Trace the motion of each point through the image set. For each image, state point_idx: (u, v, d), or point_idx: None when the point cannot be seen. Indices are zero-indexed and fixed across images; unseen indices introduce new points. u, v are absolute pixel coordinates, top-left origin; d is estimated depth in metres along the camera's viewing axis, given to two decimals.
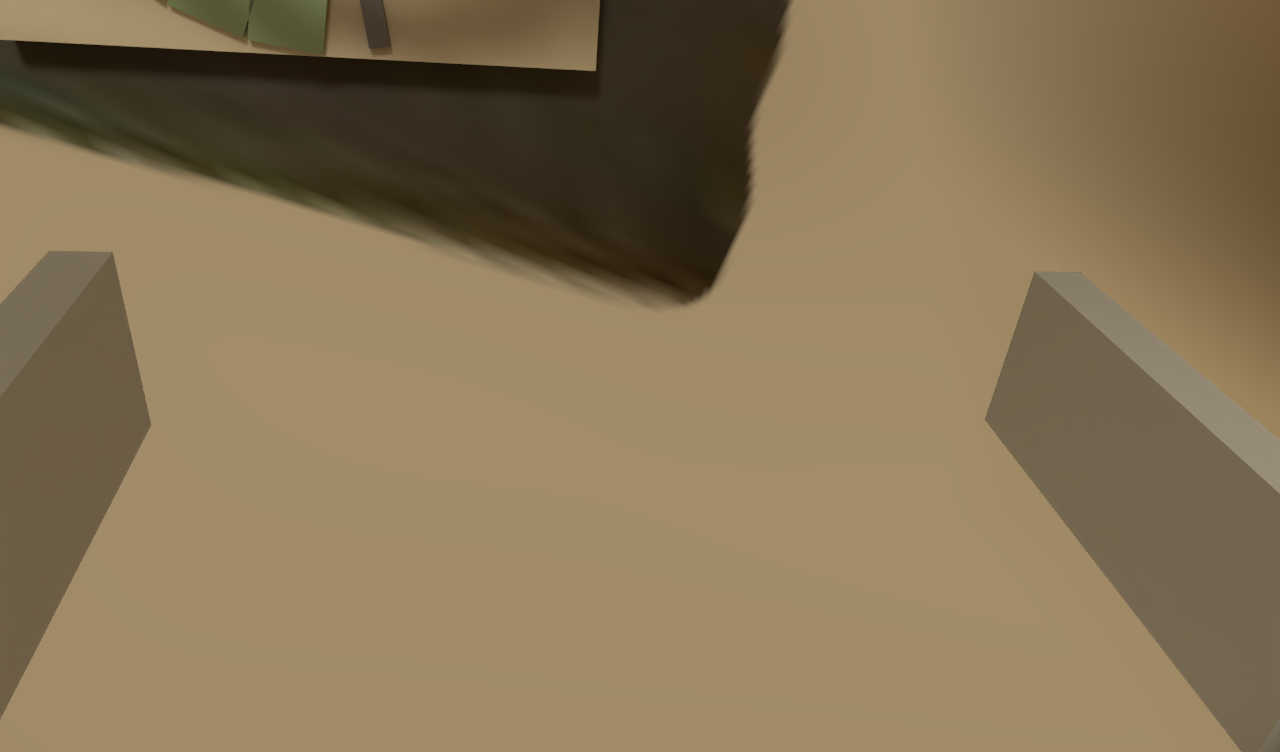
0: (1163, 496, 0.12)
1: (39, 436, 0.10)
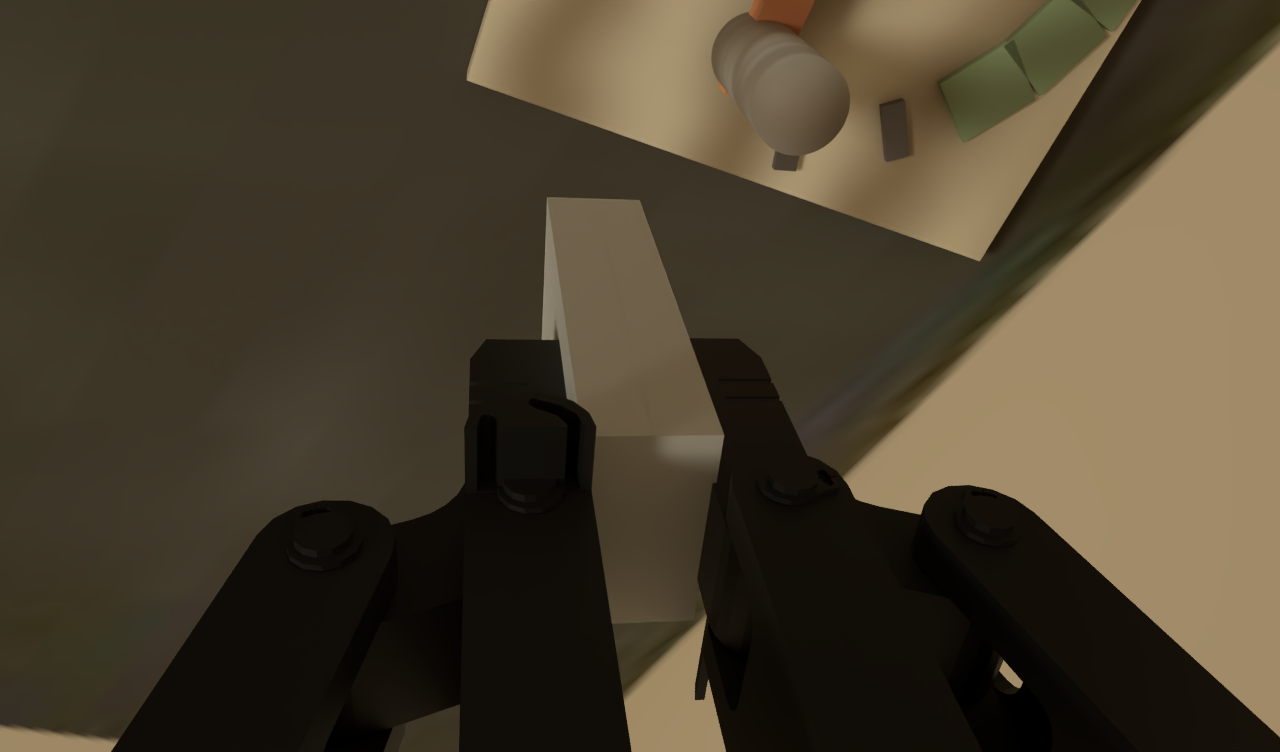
0: None
1: None
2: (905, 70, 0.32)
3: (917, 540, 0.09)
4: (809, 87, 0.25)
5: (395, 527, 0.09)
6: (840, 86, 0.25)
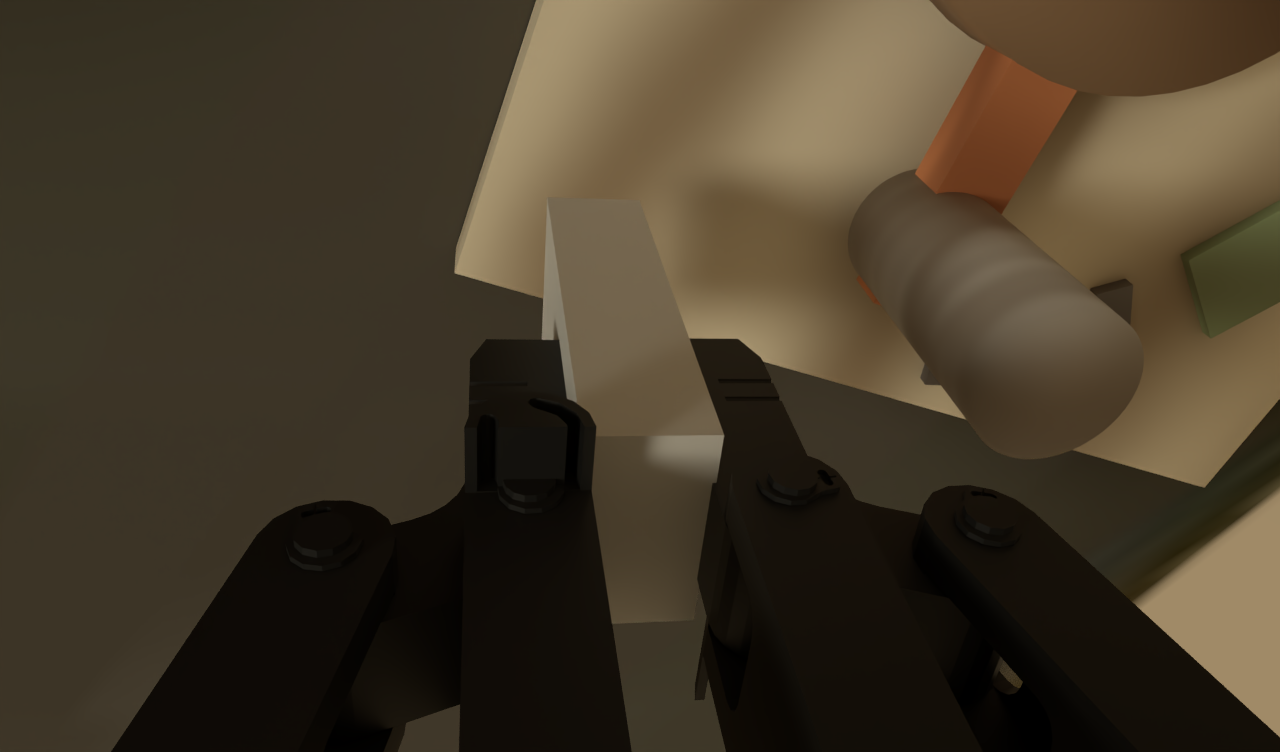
0: None
1: None
2: (1136, 240, 0.20)
3: (917, 540, 0.09)
4: (1074, 355, 0.14)
5: (395, 527, 0.09)
6: (1130, 352, 0.14)
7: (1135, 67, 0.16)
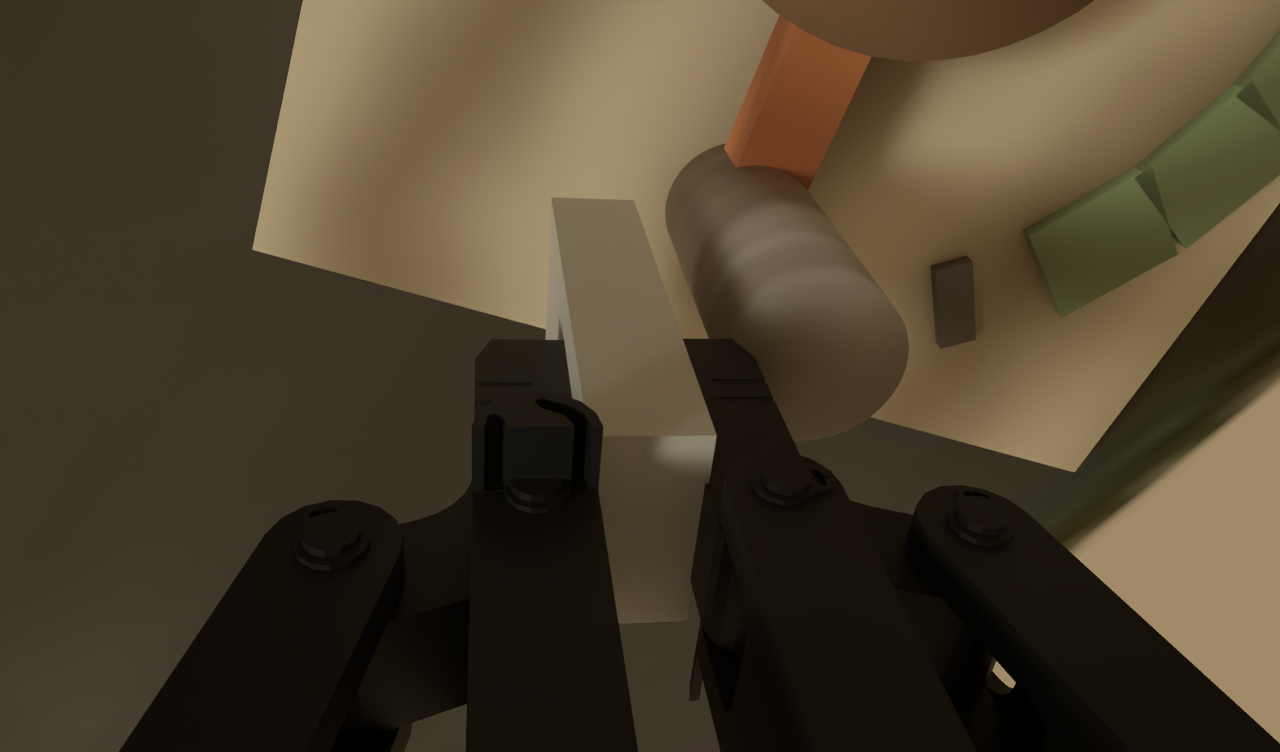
0: None
1: None
2: (973, 215, 0.20)
3: (910, 541, 0.09)
4: (829, 332, 0.13)
5: (402, 527, 0.09)
6: (890, 327, 0.13)
7: (928, 30, 0.15)
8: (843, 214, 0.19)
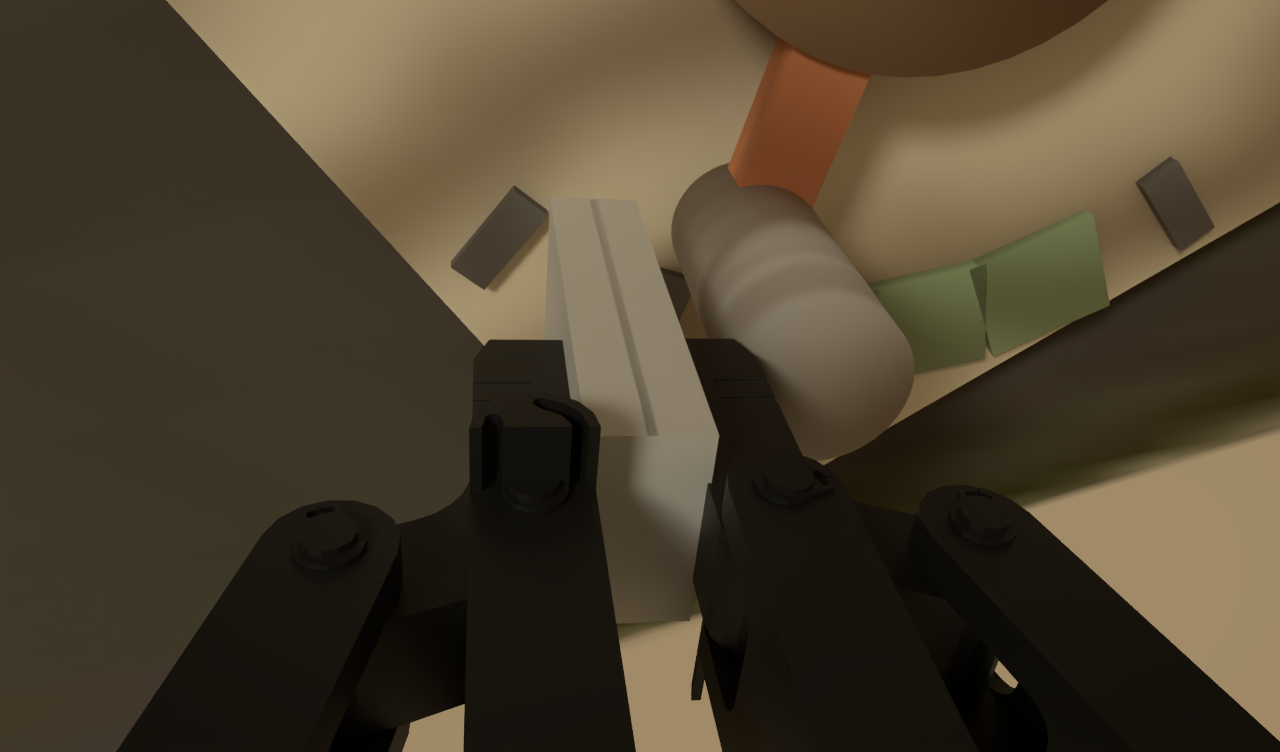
0: None
1: None
2: None
3: (912, 540, 0.09)
4: (834, 354, 0.13)
5: (399, 527, 0.09)
6: (895, 347, 0.13)
7: (927, 46, 0.15)
8: (609, 161, 0.18)
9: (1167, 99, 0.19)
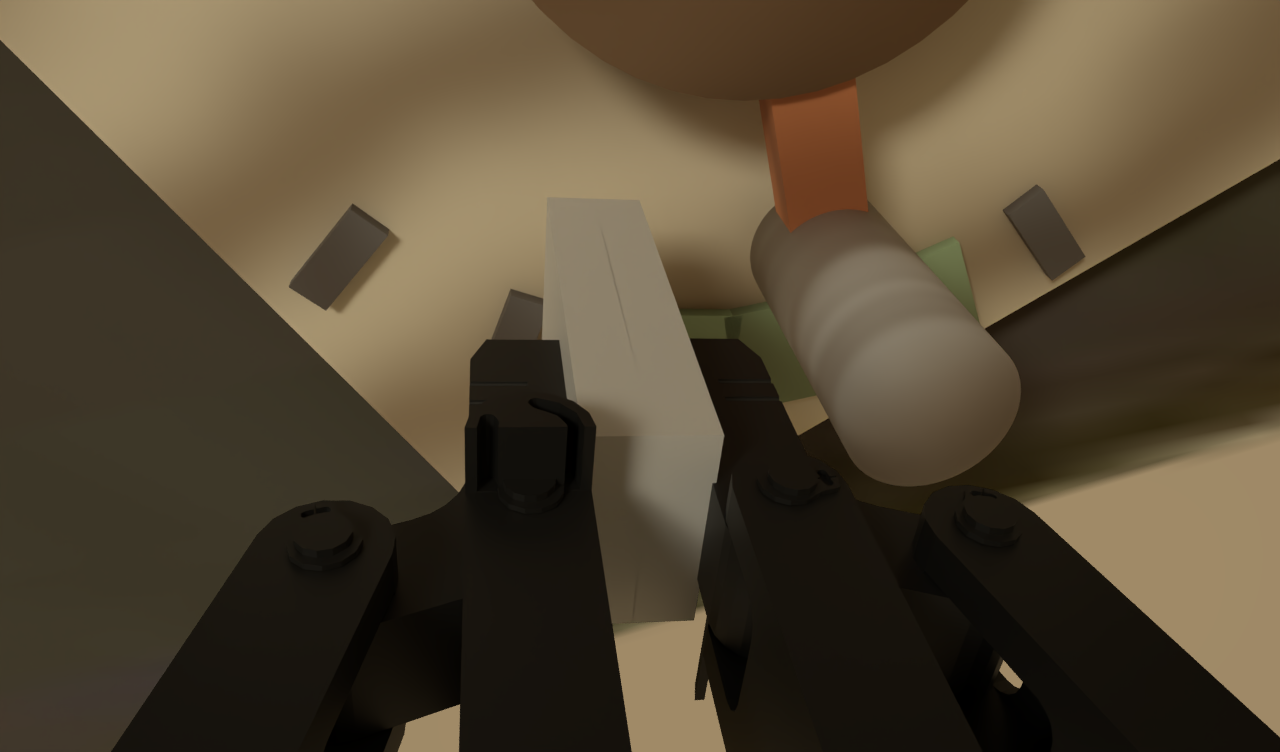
0: None
1: None
2: None
3: (917, 540, 0.09)
4: (924, 385, 0.13)
5: (395, 527, 0.09)
6: (979, 351, 0.13)
7: (893, 24, 0.15)
8: (452, 181, 0.17)
9: (1030, 126, 0.18)
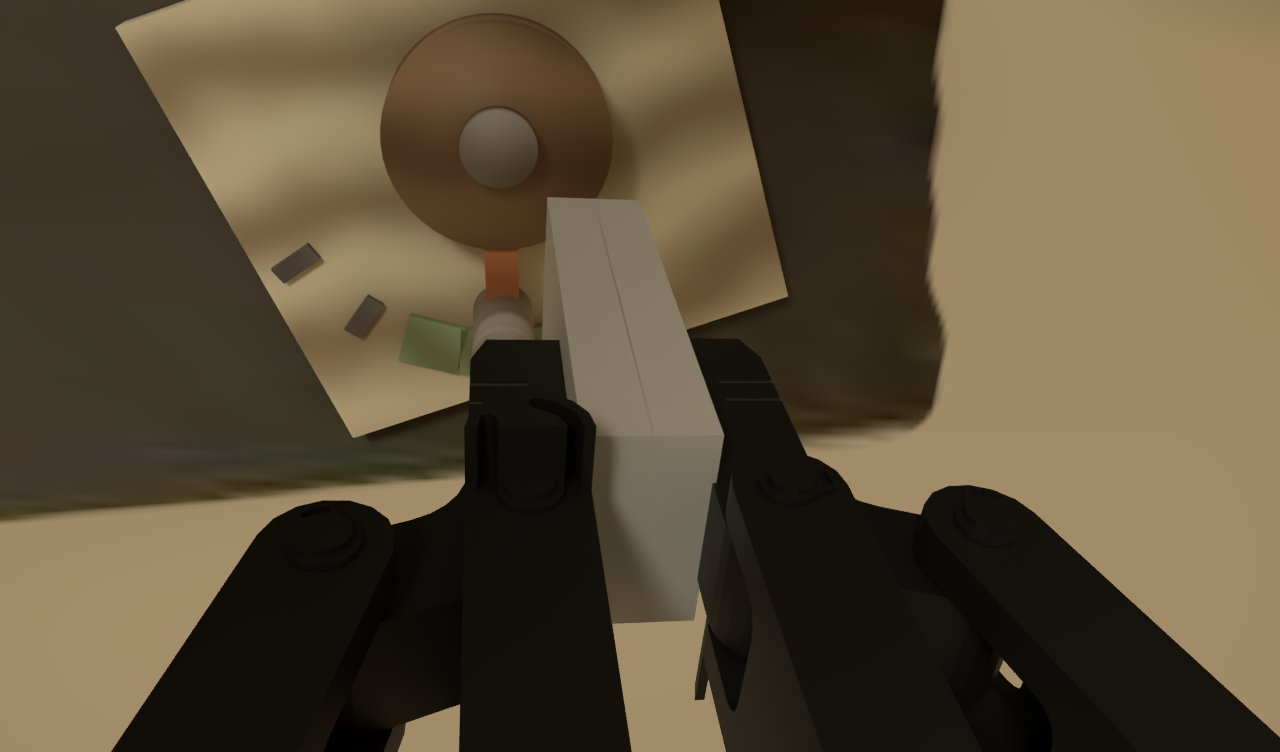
0: None
1: None
2: (398, 290, 0.42)
3: (917, 540, 0.09)
4: None
5: (395, 527, 0.09)
6: None
7: (532, 234, 0.39)
8: (353, 243, 0.41)
9: None
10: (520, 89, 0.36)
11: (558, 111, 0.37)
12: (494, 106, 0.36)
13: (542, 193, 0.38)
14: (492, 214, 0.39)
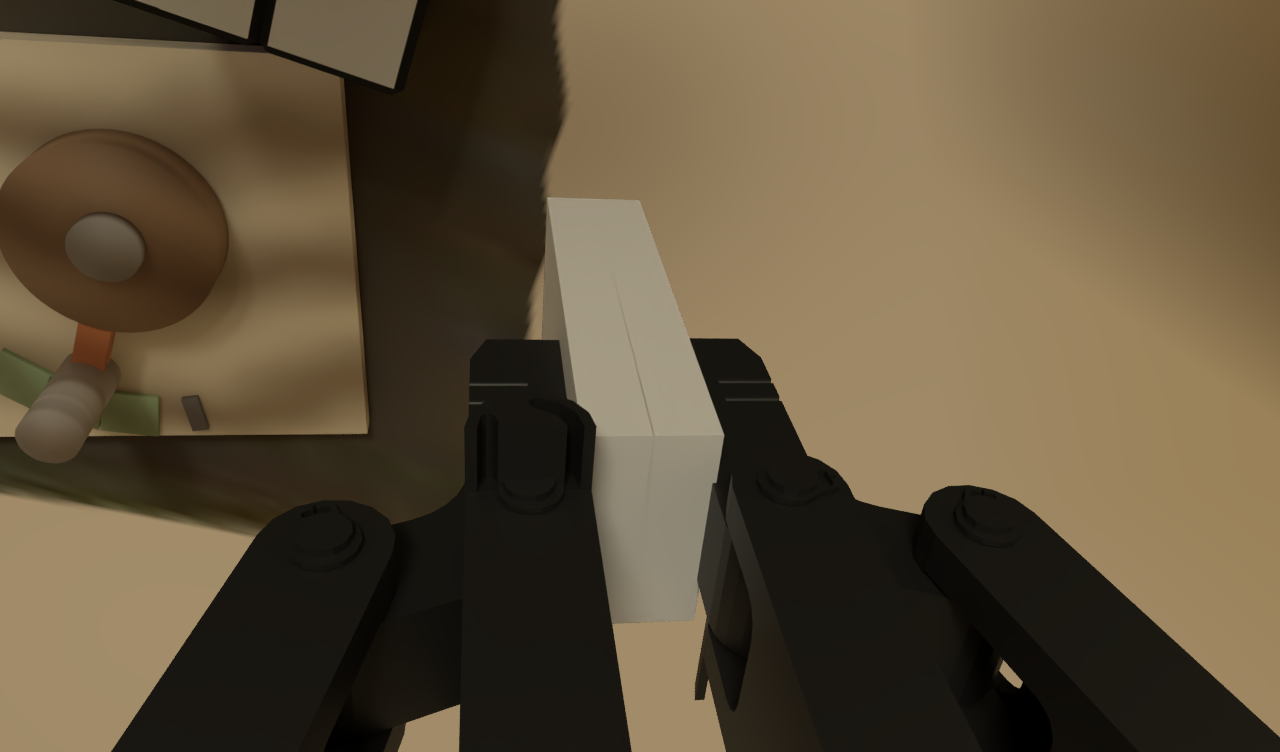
0: None
1: None
2: None
3: (917, 540, 0.09)
4: (47, 429, 0.42)
5: (395, 527, 0.09)
6: (68, 428, 0.42)
7: (126, 323, 0.44)
8: None
9: (200, 374, 0.48)
10: (139, 207, 0.41)
11: (171, 235, 0.42)
12: (111, 213, 0.41)
13: (142, 294, 0.43)
14: (91, 296, 0.43)
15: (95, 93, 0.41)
